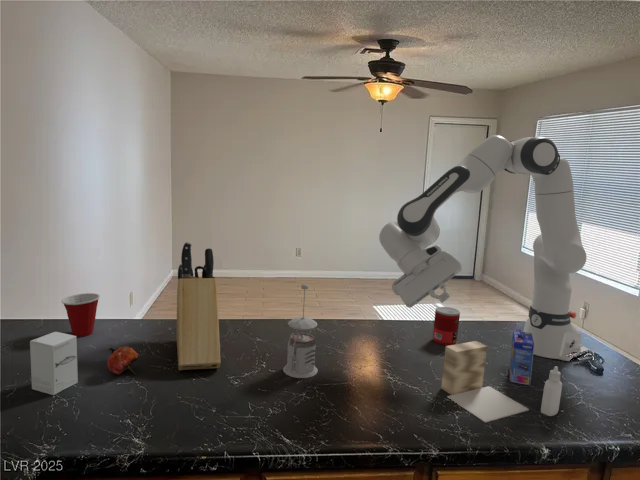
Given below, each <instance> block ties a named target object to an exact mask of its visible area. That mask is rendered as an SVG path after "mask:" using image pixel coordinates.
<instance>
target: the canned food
mask: <svg viewBox="0 0 640 480" xmlns="http://www.w3.org/2000/svg"><path fill="white" fill-rule="evenodd" d="M460 314H461V312H460V310H458V309H456V308H454V307H449V306H439V307H438V306H437V307H436V308H435V312H434V321H433V331H432V341H434V343H436V344H439V345H443V346H450V345H456V344H457V342H458V335H459V334H458V333H459V325H460V324H459V323H460V316H461V315H460Z"/></svg>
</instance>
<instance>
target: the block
mask: <svg viewBox="0 0 640 480" xmlns="http://www.w3.org/2000/svg"><path fill="white" fill-rule="evenodd" d="M487 351H488V346H487V345H486V344H483V343H481V342H480V341H477V340H473V341H468V342H462V343H456V344H454V345H445V348H444V357H443V358H444V359H443V369H442V377H441V386H440V389H442V390H443V391H444V392H446V393H448V394H450V395H453V394H458V393H462V392H466V391H471V390H475V389H479V388H483V383H484V375H485V368H486V360H487V353H488V352H487Z"/></svg>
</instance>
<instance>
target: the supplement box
mask: <svg viewBox="0 0 640 480" xmlns="http://www.w3.org/2000/svg"><path fill="white" fill-rule="evenodd" d="M77 337H78V336H74V335H73V334H68V333H63V332H60V331H59V332H58V331H53V332H51V333H48V334H45V335H42V336H40V337H38V338H34V339H32V340H30V341H29V352H30V355H29V356H30V371H31V372H30V374H31V375H30V377H31V378H30V379H31V389H32V390H34V391H37V392H41V393H45V394H48V395H51V396H55V395H57V394H59V393H60V392H62V391H63V390H66V389H68V388H70V387H72V386H74V385H76V384H78V382H79V380H78V376H79V375H78V346H77V343H78V341H77Z"/></svg>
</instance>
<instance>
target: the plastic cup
mask: <svg viewBox="0 0 640 480" xmlns="http://www.w3.org/2000/svg"><path fill="white" fill-rule="evenodd" d="M100 297H101V296H100V294H99V293H94V292H93V293H92V292H91V293H90V292H87V293H85V292H84V293H79V294H73V295H70V296H67V297H64V298H62V300H61V303H62V304H63V306H64V308H65V311H66V315H67V318H68V323H69V325H70V326H69V327H70V329H71V333H72V335H74V336H76V337H80V338H81V337H88V336H90V335H92V334H93V332H94V328H95V327H94V326H95V323H96V317H97V308H98V303H99V299H100Z"/></svg>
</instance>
